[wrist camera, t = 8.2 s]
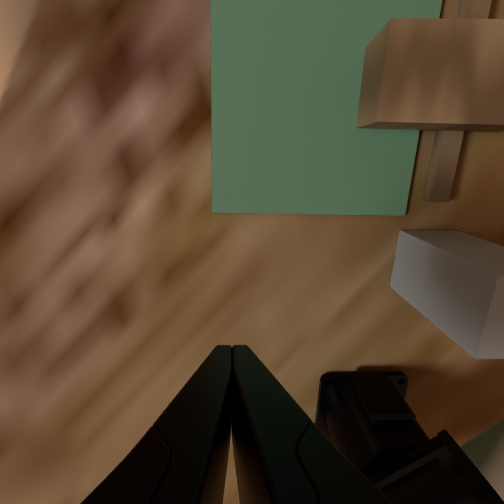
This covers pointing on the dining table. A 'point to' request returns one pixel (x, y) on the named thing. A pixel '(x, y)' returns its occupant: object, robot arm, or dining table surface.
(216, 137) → the felt mat
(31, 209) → the dining table surface
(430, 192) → the batten
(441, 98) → the walnut block
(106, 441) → the dining table surface
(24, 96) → the dining table surface
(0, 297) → the dining table surface
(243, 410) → the robot arm
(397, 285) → the grey block
